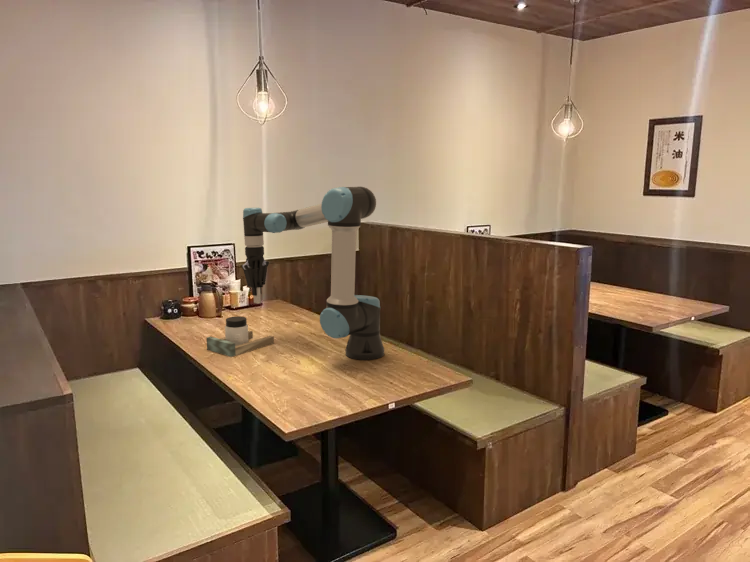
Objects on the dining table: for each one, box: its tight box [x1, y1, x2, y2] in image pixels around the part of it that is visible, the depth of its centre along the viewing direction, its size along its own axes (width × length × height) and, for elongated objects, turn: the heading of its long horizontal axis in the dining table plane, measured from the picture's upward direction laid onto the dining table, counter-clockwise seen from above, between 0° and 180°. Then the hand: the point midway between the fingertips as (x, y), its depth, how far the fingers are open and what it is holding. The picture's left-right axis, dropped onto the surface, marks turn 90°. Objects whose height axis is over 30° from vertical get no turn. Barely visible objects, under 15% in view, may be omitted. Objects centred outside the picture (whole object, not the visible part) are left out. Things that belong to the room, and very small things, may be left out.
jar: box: [224, 315, 250, 346], centre depth 232 cm, size 9×8×12 cm
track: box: [205, 329, 275, 358], centre depth 234 cm, size 15×22×5 cm
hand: (257, 302), depth 238 cm, fingers closed
